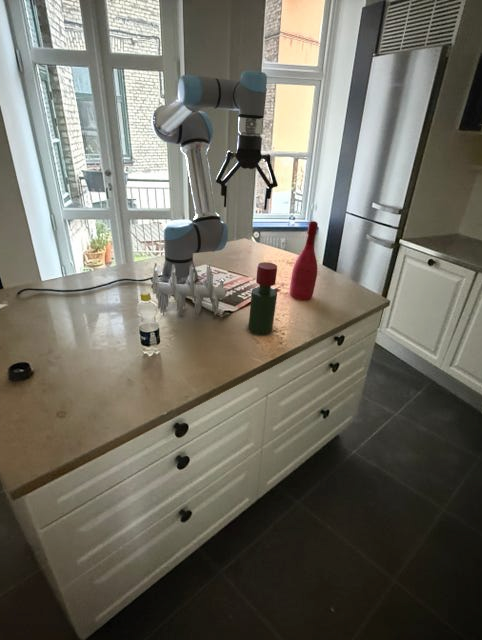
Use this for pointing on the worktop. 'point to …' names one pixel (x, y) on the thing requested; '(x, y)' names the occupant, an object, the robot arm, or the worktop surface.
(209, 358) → the worktop surface
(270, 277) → the cap
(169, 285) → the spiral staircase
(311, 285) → the wine bottle
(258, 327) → the oil bottle
